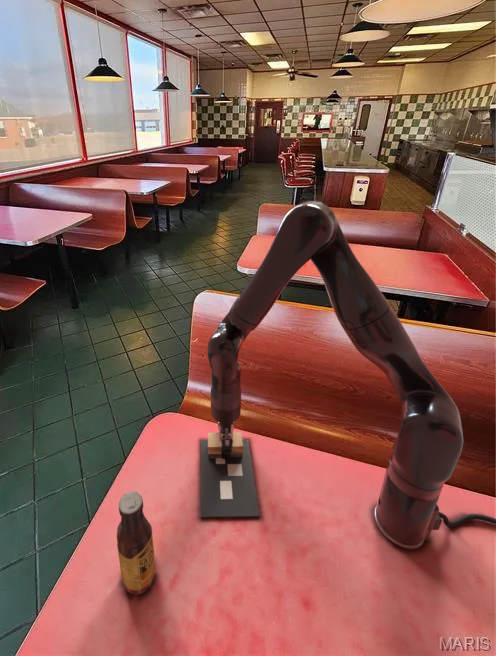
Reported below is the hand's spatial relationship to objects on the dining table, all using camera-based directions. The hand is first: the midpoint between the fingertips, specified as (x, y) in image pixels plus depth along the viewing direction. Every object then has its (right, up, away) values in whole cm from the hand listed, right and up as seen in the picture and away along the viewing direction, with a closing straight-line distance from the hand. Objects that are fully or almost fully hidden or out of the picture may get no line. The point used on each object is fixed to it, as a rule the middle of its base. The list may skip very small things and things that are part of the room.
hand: (225, 448), depth 87 cm
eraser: (0, -1, 0) cm, 1 cm away
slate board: (0, -3, -6) cm, 7 cm away
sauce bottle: (-18, -11, -24) cm, 32 cm away
